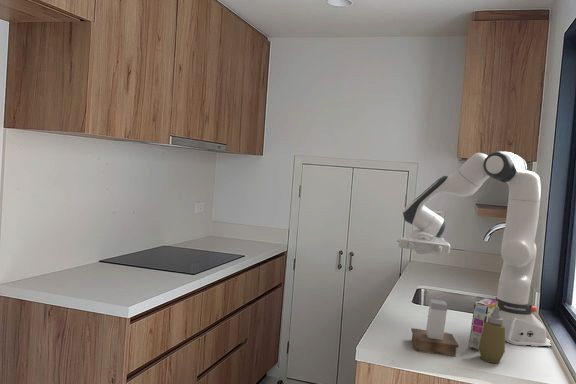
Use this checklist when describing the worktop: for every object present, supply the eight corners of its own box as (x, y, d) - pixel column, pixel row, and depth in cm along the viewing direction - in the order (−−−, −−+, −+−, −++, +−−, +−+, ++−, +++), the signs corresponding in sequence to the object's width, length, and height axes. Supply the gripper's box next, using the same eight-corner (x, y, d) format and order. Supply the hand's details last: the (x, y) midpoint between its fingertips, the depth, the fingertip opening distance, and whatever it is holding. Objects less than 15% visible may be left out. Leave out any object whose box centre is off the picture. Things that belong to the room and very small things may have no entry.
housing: (440, 335, 182) (445, 301, 181) (443, 340, 177) (447, 305, 176) (425, 332, 182) (429, 299, 182) (427, 337, 177) (431, 303, 176)
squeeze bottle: (506, 361, 174) (514, 308, 173) (497, 367, 168) (505, 311, 167) (482, 353, 179) (489, 301, 178) (473, 358, 173) (480, 305, 172)
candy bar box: (482, 352, 181) (488, 305, 180) (467, 347, 184) (473, 301, 183) (492, 345, 189) (498, 300, 188) (479, 341, 192) (484, 297, 191)
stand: (450, 344, 185) (451, 333, 185) (457, 357, 173) (458, 345, 173) (410, 339, 186) (411, 328, 186) (414, 351, 175) (415, 339, 174)
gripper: (397, 232, 220) (400, 237, 206) (447, 238, 217) (453, 243, 204) (395, 247, 220) (398, 252, 206) (445, 253, 218) (451, 259, 204)
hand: (426, 248), depth 205 cm, fingers open, 8 cm apart
